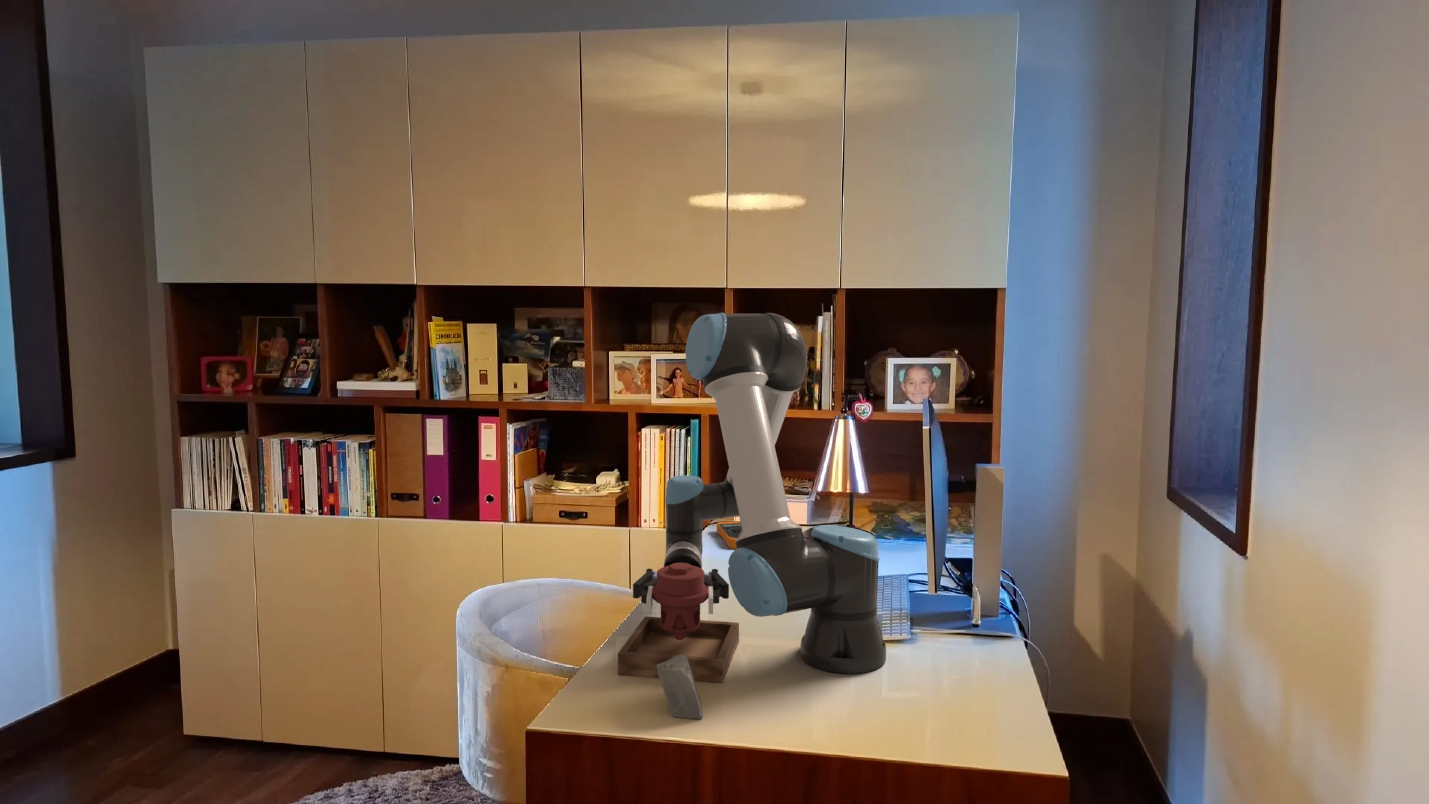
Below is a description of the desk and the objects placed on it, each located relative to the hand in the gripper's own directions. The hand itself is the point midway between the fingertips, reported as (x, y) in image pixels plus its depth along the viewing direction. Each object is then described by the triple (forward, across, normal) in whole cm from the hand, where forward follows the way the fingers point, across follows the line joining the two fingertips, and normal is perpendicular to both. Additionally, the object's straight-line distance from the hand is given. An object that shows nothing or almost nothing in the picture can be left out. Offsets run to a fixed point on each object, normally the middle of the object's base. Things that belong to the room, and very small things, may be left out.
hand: (679, 606), depth 150 cm
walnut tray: (-4, 0, -11) cm, 12 cm away
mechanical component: (-4, 0, -7) cm, 8 cm away
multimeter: (-81, -13, -12) cm, 83 cm away
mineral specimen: (+16, 0, -11) cm, 20 cm away
